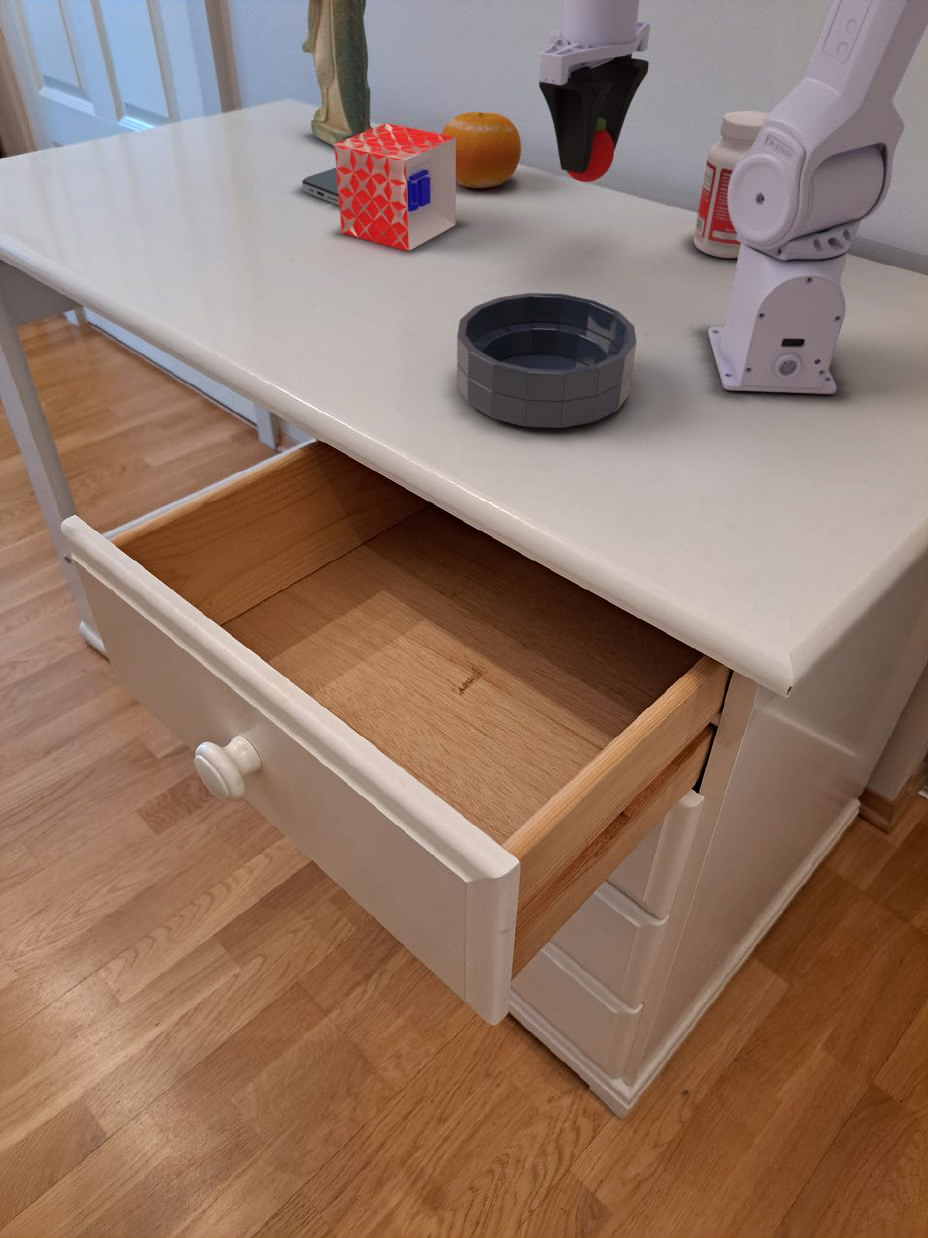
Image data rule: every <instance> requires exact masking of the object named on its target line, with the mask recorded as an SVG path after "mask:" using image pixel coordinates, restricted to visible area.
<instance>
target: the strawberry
mask: <svg viewBox="0 0 928 1238" xmlns="http://www.w3.org/2000/svg"><path fill="white" fill-rule="evenodd" d="M605 128H606V120H605V119H603V118H600V117H599V118H598V122H597V126H596V130H595V135H594V140H593V146H592V152H591V157H590V161H589V164H588V167H587V170H586V172H584V173H581V174H580V173H576V172H571V171H566V173H567V174H568V175H569V176H570V177H571V178H572V179H574V180H576V181H578V182H582V183H591V182H595V181H597V180H599V179H600V178H602V177H603V176H604V175H605V174H607V172H608V171H609V170H610V169H611V168H610V167H612V164H613V161H614V156H615V151H614V145H613V141H612V138H611V137H610V135H609V133H608V132H607V131H606V130H605Z"/></svg>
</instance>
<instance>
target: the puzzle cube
mask: <svg viewBox="0 0 928 1238" xmlns="http://www.w3.org/2000/svg"><path fill="white" fill-rule="evenodd" d="M372 128H373V127H372ZM334 146H335V147H334V157H335V158H334V159H335V168H336V171H337V184H338V196H339V206H338V207H339V208H338V209H339V218H340V230H341V231H340V233H341V234H343V235H346V236H349V237H354V238H358V239H360V240H361V239H362V240H365V241H369V242H373V243H375V244H376V243H377V244H380V245H385V246H387V247H391V248H395V249H399V250H403V251H406V252H410V251H412V250H413V249H415V248H417V247H419V246H421V245H423V244H424V243H427V242H428V241H430V240H431V239H433V238H436V237H437V236H438V235H440V234H442V233H444V232H445V231H447V230H450V229H452V228H453V227H455V226H456V225H457V212H456V211H457V209H456V208H457V205H456V203H457V201H456V199H457V198H456V197H457V196H456V193H457V189H456V186H457V185H456V184H457V183H456V137H452V136H447V135H442V133H436V132H432V131H427V130H422V129H417V128H412V127H407V126H402V125H397V124H392V123H384V124H381V125H379V126H376V127H374V128H373V129H371V130H368V131H366V132H363V133H361V134H359V135H356V136H354V137H351V138H349V139H346V140H343V141H341V142H338V143H336V144H334Z"/></svg>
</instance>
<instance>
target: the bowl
mask: <svg viewBox="0 0 928 1238" xmlns="http://www.w3.org/2000/svg"><path fill="white" fill-rule="evenodd" d="M636 349H637V335H636V328H635V325H634V324H633V323H632V322H631V321H630V320H628V318H627V317H626V316H625V315H623V314H622V313H621V311H619V310H617V309H614V308H612V307H611V306H607V305H605V304H603V303H601V302H599V301H596V300H593V299H589V298H583V297H579V296H575V295H570V294H564V293H543V292H540V293H539V292H527V293H521V294H514V295H506V296H505V295H504V296H499V297H497V298H496V297H495V298H494V299H491V300H488V301H486V302H483V303H480V304H478V305H476V306H474V307H472V308H471V309H470V310H469V311H468V312H467V313H466V314H465V315H463V316H462V317H461V318H460V319H459V322H458V329H457V334H456V387H457V389H458V390H459V392H460V394H461V395H462V397H463V398H464V400H465V401H466V403H467V404H468V405H469V406H471V407H473V408H474V409H476V410H478V411H480V412H481V413H483V414H484V415H486V416H488V417H489V418H492V419H494V420H497V421H502V422H506V423H509V424H513V425H518V426H521V427H528V428H529V427H530V428H553V429H562V428H569V427H575V426H580V425H586V424H590V423H591V424H592V423H595V422H597V421H599V420H602V419H603V418H605V417H607V416H609V415H611V414H613V413H615V412H617V411H618V410H620V409H621V408H620V407H621V406H622V405H623V403H624V402H625V401H626V399H627V398H628V397H629V395H630V392H631V384H632V380H633V379H632V377H633V370H634V364H635V356H636Z"/></svg>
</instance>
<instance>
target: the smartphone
mask: <svg viewBox="0 0 928 1238" xmlns="http://www.w3.org/2000/svg"><path fill="white" fill-rule="evenodd" d="M301 185H302V190H303V191H304V192H305V193H306V194H308V195H311V196H313V197H315V198H318V199H321V200H323V201H325V202H327V203H329V204H332V205H336V206H338V207H339V196H338V184H337V171H336V167H333V168H331V169H327V170H324V171H321V172H318V173H316V174H312V175H309V176H306V177H305V178H304V179H303V180H302V181H301Z"/></svg>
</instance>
